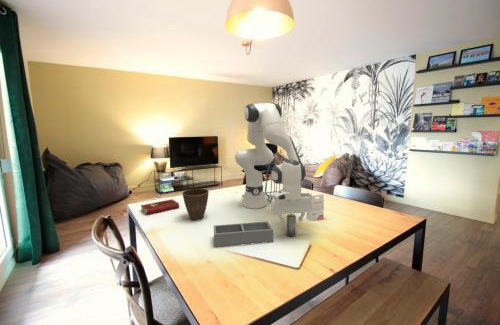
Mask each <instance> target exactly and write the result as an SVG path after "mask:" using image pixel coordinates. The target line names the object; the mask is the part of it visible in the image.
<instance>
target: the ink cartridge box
mask: <svg viewBox="0 0 500 325" xmlns="http://www.w3.org/2000/svg"><path fill="white" fill-rule="evenodd" d="M324 206H325V199H324V194H315V195H314V194H313V195H312V211H311V212H306V219H307V220H309V221H311V222H312V221H320V220H324V210H325V209H324V208H325V207H324Z"/></svg>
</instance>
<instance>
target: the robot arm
mask: <svg viewBox="0 0 500 325" xmlns="http://www.w3.org/2000/svg"><path fill="white" fill-rule="evenodd" d="M243 113H244V119H245V121H247V122H248V124H247V131H246V132H247V136H246V139H247V142H248V143H249V144H250V145H252V146H254V147H255V148H244V149H243V148H242V149H239V150H237V151H236V153H235V154H234V155H235V156H234V161H235V163H236V164H237V165H238V166H240V167H241V169H242V170H243V171H244V174H245V181H246V182H245V183H246V184H245V191H244V194H242V195H241V202H240V207H242V208H244V207H245V208H248V209H262V208H264V207H265V206H268V205H269V203H268V202H267V201H266V199H267V197H266V194H265V193H266V192H265V191H264V185H263V184H264V182H263V173H262V172H261V171H260V170H257V169H256V168H255V166H264V165H265V166H266V164H267V165H268V164H269V163H271V162H272V160H273V158H274V157H273V154H274V153H273V152H272V150H271V149H270V148H269V147H268V146H267V145H266V141H267V142H268V143H269V144H272V145H274V146H276V147H277V146H278V147H280V148H282V149H283V150H284V152H285V153H286V156H287V159H288V160H286V159H284V160H285V161H284V162H283V161H282V162H283V163H279V164H278V165H277V164H276V165H275V166H274V165H273V167H271V169H270V170H271V171H270V178H271V179H272V182H273V183H274V182H275V185H276V184H277V185H279V184H280V185H282V188H281V189H280V190H277V191H276V190H275V191H276V192H274V191H273V192H272V196H273V197H272V198H273V199H271V200H270V212H271V214H272V215H277V216H278V217H279V222H280V223H282V224H283V223H285V219H284V217H282V216H283V215H284V214H286V215H288V214H300V215H299V216H298V218H297V219H298V221H299V222H303V219H304V217H305V216H306V213H307V212H311V211H312V196H313V195H312V194H311V193H310V192H302V185H301V183H302V182H303V181H304V179H305V178H306V174H307V171H306V169H305V166H304V164H303V163H302V161H301V159H300V157H299V153H298V150H297V148H296V146H295V143H294V141H293V139H292V137H291V136H290V135H289V134H288V133H287V132H286V130H285V128H284V126H283V125H284V124H283V121H282V118H281V117H282V107H281V106H280V104H278V103H274V102H272V103H270V102H261V103H250V104H246V106H245V107H244V112H243ZM265 140H266V141H265ZM272 163H273V162H272ZM272 163H271V164H272ZM271 179H270V180H271Z"/></svg>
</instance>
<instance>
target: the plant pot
mask: <svg viewBox="0 0 500 325" xmlns="http://www.w3.org/2000/svg"><path fill="white" fill-rule="evenodd" d="M209 191H210V190H208V189H206V188H192V189H191V188H190V189H186V190H184V191H182V199H183V202H184V206H185V209H186V212H187V214H188V216H189V218H190V220H192V221H200V220H203V219H204V216H205V214H206V209H207V206H208V201H209V200H208V199H209Z"/></svg>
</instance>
